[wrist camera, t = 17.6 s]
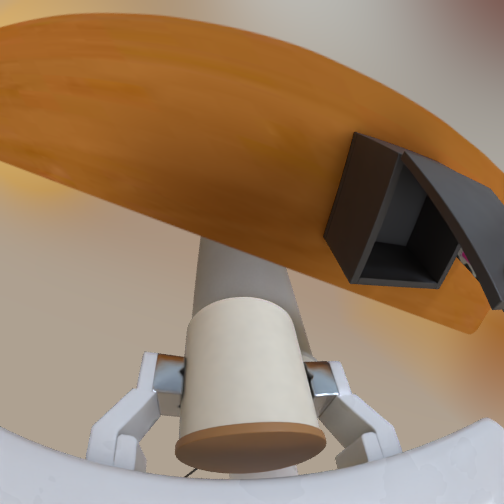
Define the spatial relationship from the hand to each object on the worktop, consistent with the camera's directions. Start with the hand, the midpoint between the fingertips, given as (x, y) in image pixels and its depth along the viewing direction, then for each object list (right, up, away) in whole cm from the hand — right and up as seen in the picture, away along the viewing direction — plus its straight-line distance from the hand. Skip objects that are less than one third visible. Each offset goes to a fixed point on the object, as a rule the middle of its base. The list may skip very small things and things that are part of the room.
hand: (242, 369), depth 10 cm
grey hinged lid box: (+16, +11, +21) cm, 28 cm away
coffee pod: (0, +1, +1) cm, 2 cm away
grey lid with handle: (+18, +6, +5) cm, 20 cm away
